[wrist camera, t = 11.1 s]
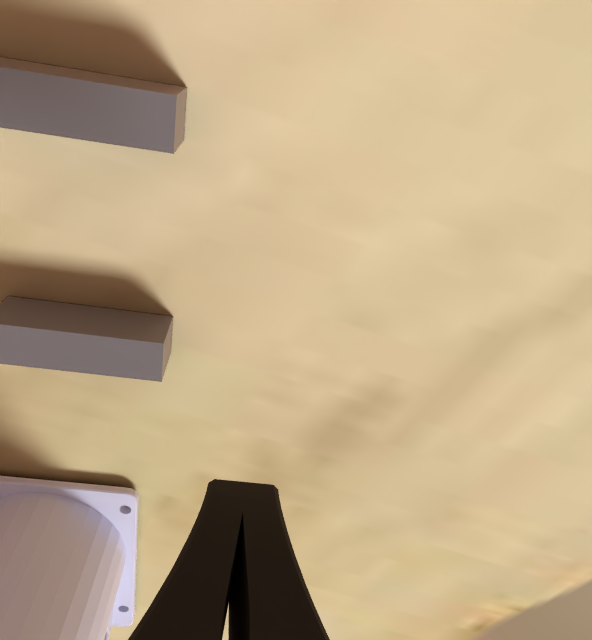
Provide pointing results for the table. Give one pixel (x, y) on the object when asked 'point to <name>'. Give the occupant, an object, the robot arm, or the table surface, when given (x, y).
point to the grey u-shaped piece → (106, 127)
